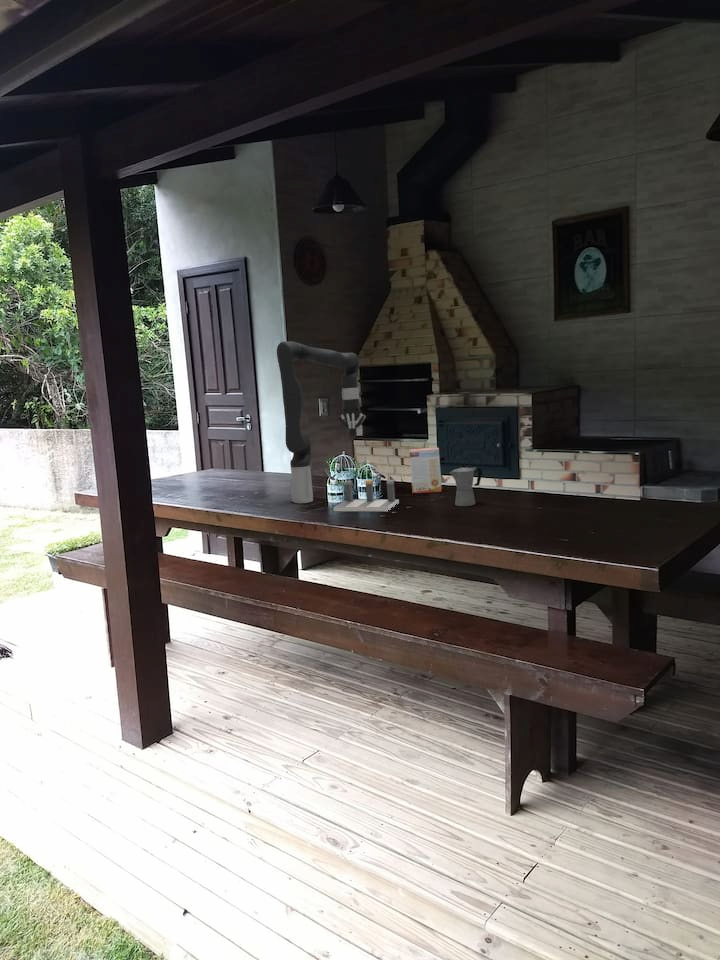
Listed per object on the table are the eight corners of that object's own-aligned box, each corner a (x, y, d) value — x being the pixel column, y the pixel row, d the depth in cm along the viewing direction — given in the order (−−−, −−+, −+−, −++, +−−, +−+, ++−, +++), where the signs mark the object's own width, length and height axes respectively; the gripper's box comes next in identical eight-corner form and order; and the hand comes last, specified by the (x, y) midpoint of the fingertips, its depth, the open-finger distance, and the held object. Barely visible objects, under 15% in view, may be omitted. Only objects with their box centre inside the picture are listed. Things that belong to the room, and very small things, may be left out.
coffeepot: (455, 507, 318) (453, 466, 315) (446, 504, 327) (444, 463, 324) (488, 503, 322) (486, 462, 319) (478, 499, 331) (477, 459, 328)
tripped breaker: (366, 501, 336) (365, 481, 335) (368, 499, 339) (367, 480, 338) (371, 501, 336) (370, 481, 334) (374, 499, 338) (372, 479, 337)
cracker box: (441, 489, 360) (439, 446, 356) (441, 492, 354) (439, 448, 351) (412, 491, 361) (409, 448, 358) (412, 493, 356) (409, 450, 352)
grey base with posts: (333, 511, 329) (331, 487, 327) (347, 503, 345) (345, 480, 343) (387, 511, 321) (386, 486, 319) (399, 503, 336) (397, 479, 335)
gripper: (333, 399, 331) (336, 438, 334) (361, 398, 326) (364, 437, 329) (339, 398, 338) (342, 436, 341) (367, 396, 333) (370, 435, 336)
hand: (353, 436), depth 335 cm, fingers closed
